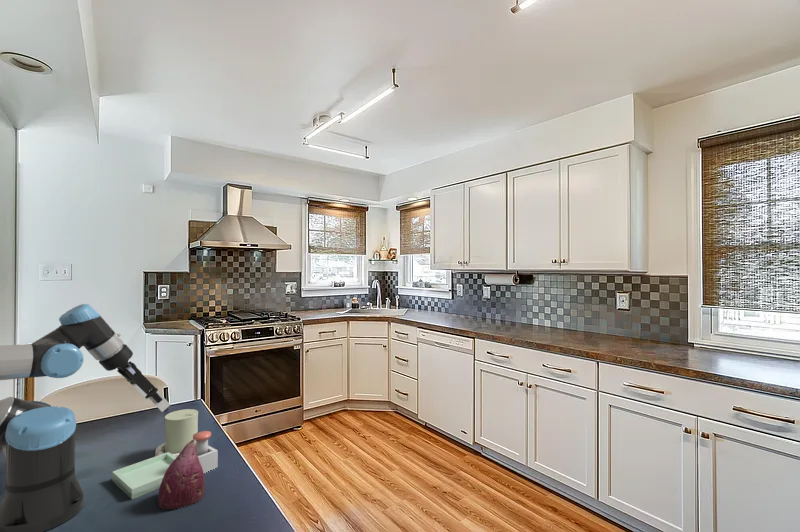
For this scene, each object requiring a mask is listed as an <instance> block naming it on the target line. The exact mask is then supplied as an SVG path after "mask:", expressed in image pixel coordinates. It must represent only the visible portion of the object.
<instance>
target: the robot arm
mask: <svg viewBox="0 0 800 532" xmlns="http://www.w3.org/2000/svg"><path fill="white" fill-rule="evenodd" d="M58 321H59V323H60V326H58V327H57V328H55V329H53V330H52V331H51V332H48V333H47V334H45V335H43V336H42V337H40V338H39V339H37V340H36V341H33V342H32V343H30V344H29V343H28V344H26V343H25V344H5V345H0V381H8V380H17V379H18V380H20V379H28V378H42V377H49V378H54V379H64V378H68V377H71V376H72V375H74V374H76V373H77V372H78V371H79V370H80V369H81V368H82V365H83V364H84V355H83V352H82V351H81V350H80V349H81V348H82V347H84V348H85V350H86V351H87V352H88V353H89V354H90V355H91V356H92V357H93V359H94V360H95V361H98V363H99V365H101V367H102V368H104V370H106V371H108V372H111V371H114V370H116V369H117V371H116V372H117V373H119V375H121V376H122V377H123V378H125V380H127V382H128V383H130V385H132V386H133V388H134V389H135V390H136V391H137V392H138V394H140V396H141V397H143V399H144V400H145V401H148V400H150V402H152V404H154V405H155V406H156V407H157V409H159V411H160V412H161V413H163V412H164V411H165V410H166V409H168V408H170V406H171V404H170V403H169V401H168V400H167V399H166V398H165V397H164V396H163V394H161V393H160V391H159V389H158V388H157V387H155V385H154V384H152V383H151V381H150V380H149V379H147V377H146V376H145V375H144V374H143V373H142V371H141V370H140V369H139V368H138V367H137V365H136V364H135V363H134V362H132V361H129V360H130V359H132V357H133V355H134V352H133V350H131V348H130V347H129V346H128V345H127V344H126V343H124V341H123V339H121V338H120V337H121V336H122V335H121V333H116V332H115V331H114V329H112V327H110V325H109V324H108V322H106V320H105V319H104V318H103V317H102V316H101V314H100V313H99V312H97V311H96V310H95V309H94V308H93V307H92V306H91V304H88V303H82V304H81V303H80V304H79V305H77V306H74V307H72V308H71V309H69V310H67V311H65V313H63V314H62V315H60V317H59V318H58ZM75 415H76V414H75V413H74V411H73V410H72V409H71V408H69V407H65V406H60V407H59V405H58V406H53V405H51V404H49V403H47V402H43V401H39V400H25V399H22V398H21V399H20V398H18V397H13V396H8V397H5V398H4V399H1V400H0V453H3V455H4V457H5V493H4V494H5V495H4V497H3V498H2V501H1V503H0V532H46V531H49V530H51V529H53V528H56V527H59V526H61V525H62V524H64V523H66V522H68V521H70V520H71V519H72V518H74V517H75V516H76V515H77V514H79V513H80V512H81V510H82V509H83V507H84V506H85V493H84V490H83V488H82V487H81V484H80V481H79V479H78V477H77V475H76V463H75V462H76V428H77V420H76V416H75Z"/></svg>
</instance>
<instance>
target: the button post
mask: <svg viewBox="0 0 800 532" xmlns="http://www.w3.org/2000/svg"><path fill="white" fill-rule="evenodd" d="M218 454H219V451H218V449H216V448H214V447H213V446H210V444H208V453H205V454H203V455H200V456H198V458H199V461H200V464H201V466H202V469H203V473H205V474H207V473H209V472H211V471H210V470H212V471H214V470H216V469H215V468H217V467H218V466H219V465H218V463H219V462H218V461H219V455H218ZM218 468H219V467H218ZM218 468H217V469H218ZM213 469H214V470H213ZM208 471H209V472H208ZM206 472H207V473H206Z"/></svg>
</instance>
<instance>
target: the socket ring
mask: <svg viewBox="0 0 800 532" xmlns="http://www.w3.org/2000/svg"><path fill="white" fill-rule="evenodd" d="M164 453H165V442H163V443H162V444H160V445H158V446H157V447H156V449H155V452H154V455H155V456H154V457H156V456H158V455H161V454H164ZM179 454H180V453H177V454H173V455H174V456H176V457H178V455H179Z"/></svg>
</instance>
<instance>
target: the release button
mask: <svg viewBox="0 0 800 532" xmlns="http://www.w3.org/2000/svg"><path fill="white" fill-rule="evenodd" d="M211 437H212V432H211V431H209V430H204V431H203V430H202V431H199V432H198V433H196V434H194V435H193V439H194V440H195V441H196V449H197V455H198V456H200V455H203V454H205V453H208V445H209V439H210V438H211Z"/></svg>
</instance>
